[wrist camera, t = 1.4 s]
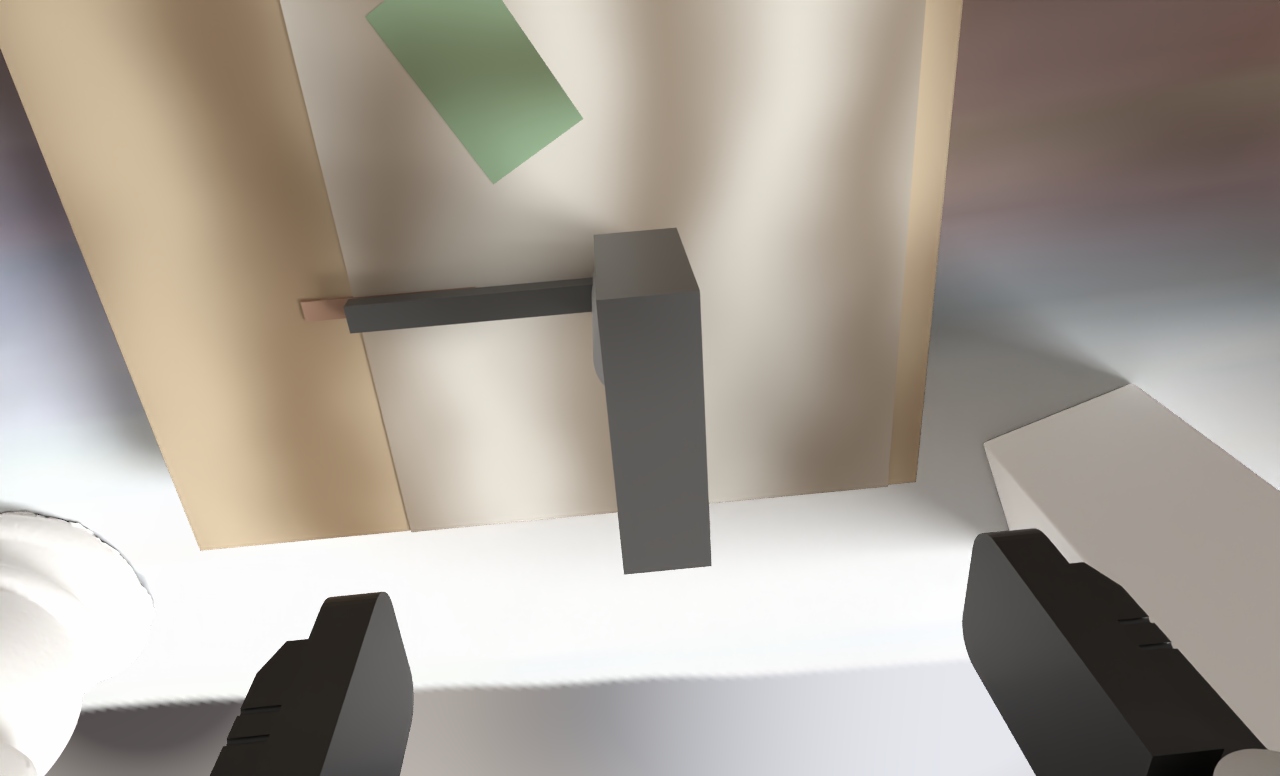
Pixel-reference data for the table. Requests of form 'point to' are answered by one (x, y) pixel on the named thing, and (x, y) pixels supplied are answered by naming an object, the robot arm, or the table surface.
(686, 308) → the lever
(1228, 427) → the table surface
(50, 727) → the cherub figurine
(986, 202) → the table surface
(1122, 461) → the milk
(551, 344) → the dial board
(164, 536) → the table surface
